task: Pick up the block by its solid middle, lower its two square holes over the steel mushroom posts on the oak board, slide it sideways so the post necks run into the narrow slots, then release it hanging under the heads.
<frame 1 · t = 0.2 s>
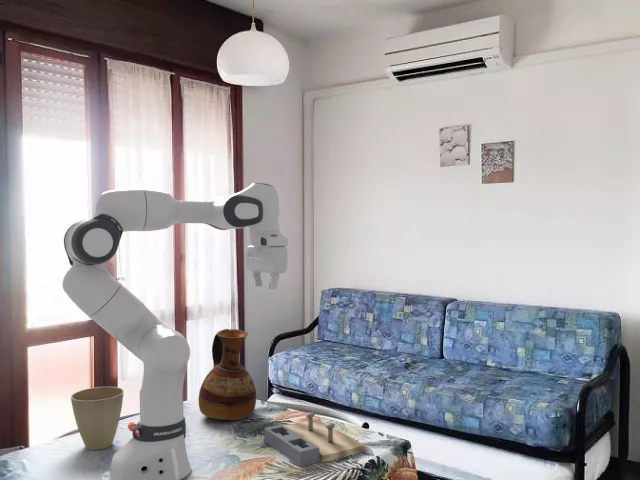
hand: (265, 287, 170), 47 cm above the table, tool pointing down, fingers open, 8 cm apart
ceramic pitcher: (227, 416, 203), on the table
block: (290, 451, 170), on the table
board: (319, 442, 176), on the table
plant pot: (99, 446, 177), on the table
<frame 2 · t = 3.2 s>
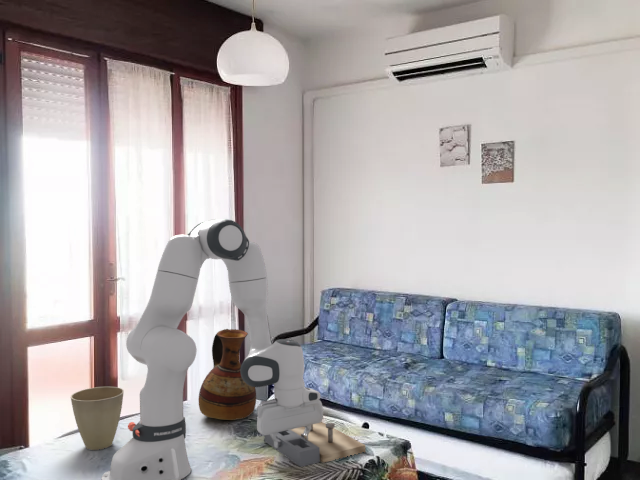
hand: (291, 443, 170), 2 cm above the table, tool pointing down, fingers open, 7 cm apart
nothing on the table moved.
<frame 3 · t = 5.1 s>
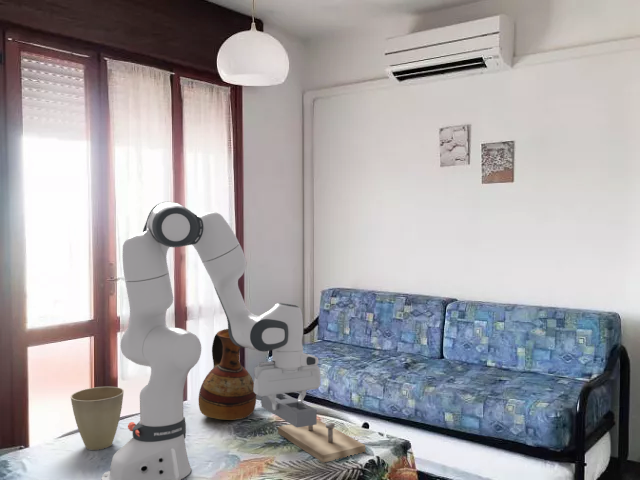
hand: (287, 407, 169), 13 cm above the table, tool pointing down, fingers closed on block, 6 cm apart
block: (287, 415, 169), point 11 cm above the table, touching gripper
everything else where it was.
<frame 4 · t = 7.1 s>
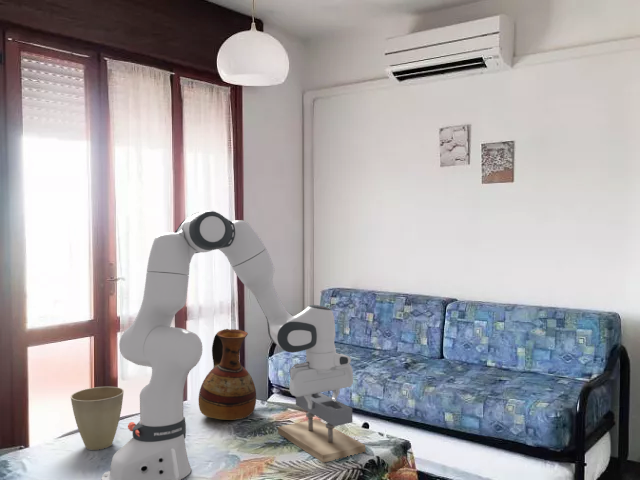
hand: (322, 406, 175), 11 cm above the table, tool pointing down, fingers closed on block, 6 cm apart
block: (322, 413, 175), point 9 cm above the table, touching gripper
everything else where it was.
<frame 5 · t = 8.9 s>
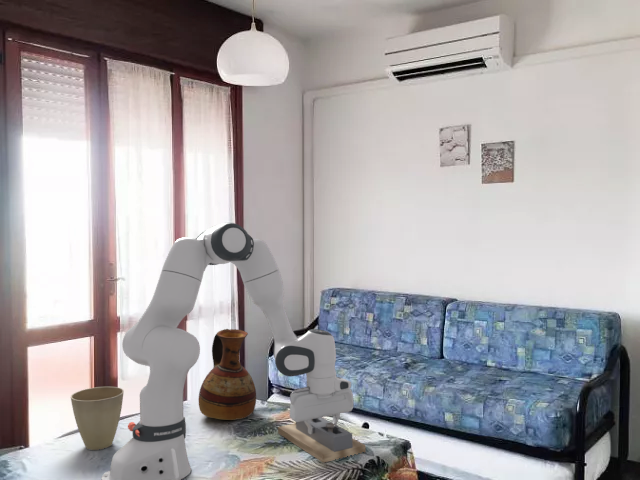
hand: (322, 430, 175), 4 cm above the table, tool pointing down, fingers closed on block, 6 cm apart
block: (322, 437, 174), point 2 cm above the table, touching board, gripper
everything else where it was.
when the fingers open (4 cm above the table, at t = 10.1 s): block stays where it is, resting on board.
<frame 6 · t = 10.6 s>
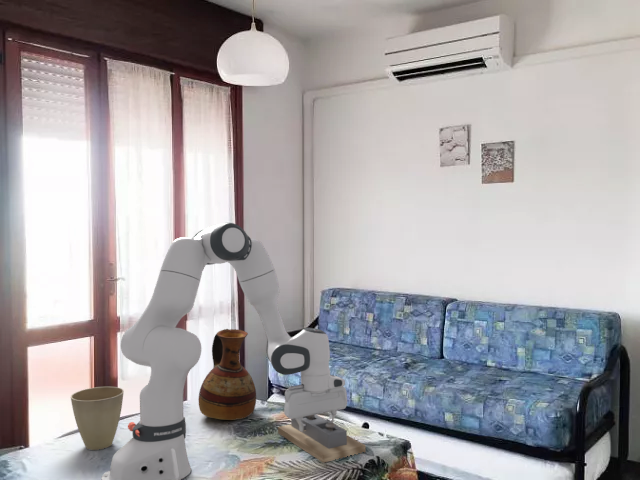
hand: (316, 427, 178), 4 cm above the table, tool pointing down, fingers open, 8 cm apart
block: (317, 434, 177), point 2 cm above the table, touching board
everything else where it was.
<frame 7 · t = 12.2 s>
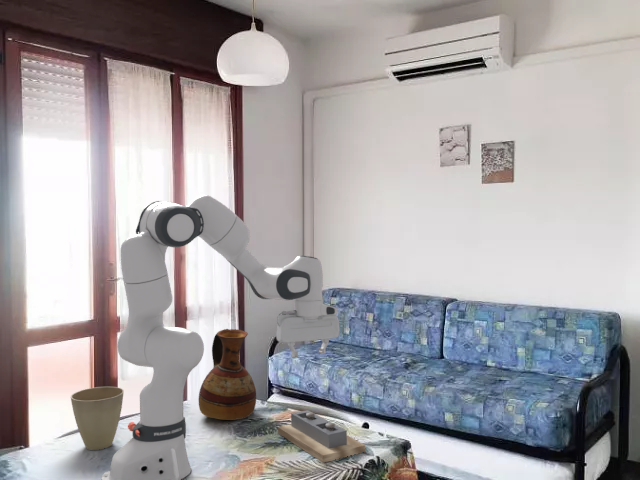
hand: (308, 355, 178), 26 cm above the table, tool pointing down, fingers open, 8 cm apart
nothing on the table moved.
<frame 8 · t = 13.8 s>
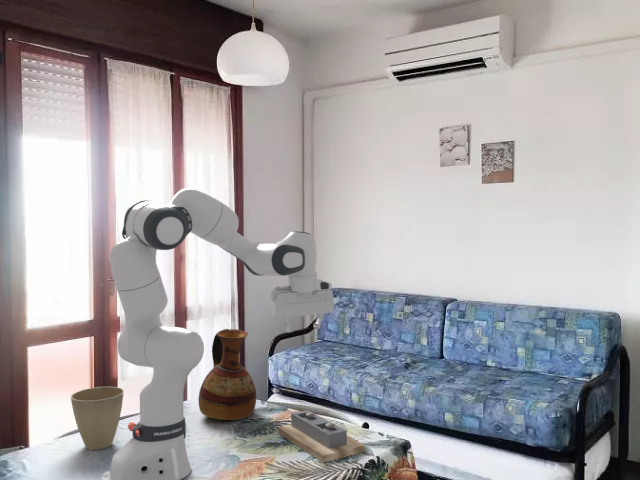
hand: (303, 330, 179), 33 cm above the table, tool pointing down, fingers open, 8 cm apart
nothing on the table moved.
at the end: block 0.9 cm from the target spot on the board, point 2.0 cm above the board's base; block tilted 0°; the gripper is holding nothing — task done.
